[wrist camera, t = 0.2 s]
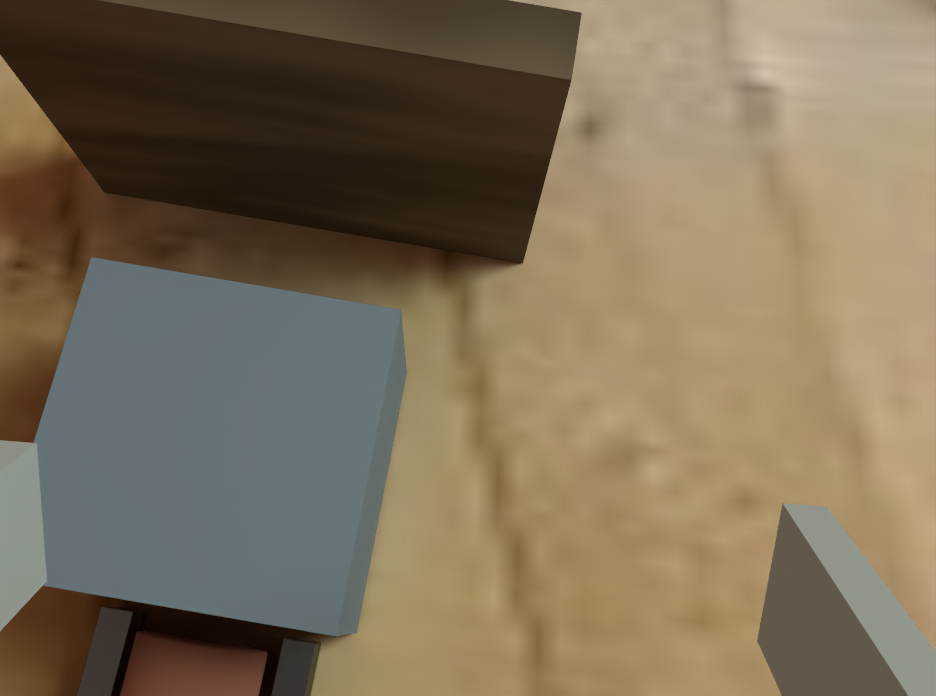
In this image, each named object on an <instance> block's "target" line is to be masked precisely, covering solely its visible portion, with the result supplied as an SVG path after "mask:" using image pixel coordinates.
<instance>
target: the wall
mask: <svg viewBox="0 0 936 696" xmlns="http://www.w3.org/2000/svg"><path fill="white" fill-rule="evenodd" d="M580 20H581V13H580V12H574V11H568V10H562V9H556V8H550V7H544V6H539V5H533V4H527V3H521V2H515V1H509V0H0V55H1V56H2V57H3V59H4V60H5V61H6V63H7V64H8V65H9V67H10V68H11V69H12V71H13V72H14V73H15V75H16V76H17V77H18V79H19V80H20V81H21V82H22V84H23V85H24V86H25V88H26V89H27V90H28V92H29V93H30V94H31V96H32V97H33V98H34V100H35V101H36V102H37V104H38V105H39V106H40V108H41V109H42V110H43V111H44V113H45V114H46V115H47V117H48V118H49V119H50V121H51V122H52V123H53V125H54V126H55V127H56V129H57V130H58V131H59V133H60V134H61V135H62V137H63V138H64V139H65V141H66V142H67V143H68V144H69V146H70V147H71V148H72V150H73V151H74V152H75V154H76V155H77V156H78V158H79V159H80V160H81V162H82V163H83V164H84V166H85V167H86V168H87V170H88V171H89V172H90V174H91V175H92V176H93V177H94V179H95V180H96V181H97V183H98V184H99V185H100V187H101V188H102V189H103V191H104V192H107V193H113V194H119V195H124V196H130V197H136V198H142V199H148V200H154V201H160V202H166V203H172V204H178V205H183V206H189V207H195V208H201V209H207V210H213V211H219V212H225V213H231V214H236V215H242V216H248V217H254V218H260V219H266V220H272V221H278V222H284V223H289V224H295V225H301V226H307V227H313V228H319V229H325V230H331V231H337V232H342V233H348V234H354V235H360V236H366V237H372V238H378V239H384V240H390V241H395V242H401V243H407V244H413V245H419V246H425V247H431V248H437V249H443V250H448V251H454V252H460V253H466V254H472V255H478V256H484V257H490V258H496V259H501V260H507V261H513V262H519V263H523V260H524V257H525V253H526V249H527V245H528V242H529V238H530V234H531V230H532V226H533V223H534V219H535V215H536V211H537V208H538V204H539V200H540V196H541V193H542V189H543V185H544V181H545V177H546V174H547V170H548V166H549V162H550V159H551V155H552V151H553V147H554V144H555V140H556V136H557V132H558V128H559V125H560V121H561V117H562V113H563V110H564V106H565V102H566V98H567V95H568V91H569V87H570V83H571V79H572V73H573V66H574V59H575V53H576V46H577V40H578V33H579V26H580Z"/></svg>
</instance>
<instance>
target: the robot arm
mask: <svg viewBox="0 0 936 696" xmlns="http://www.w3.org/2000/svg"><path fill="white" fill-rule="evenodd" d="M46 581H47V573H46V560H45V546H44V533H43V520H42V506H41V493H40V479H39V466H38V452H37V443H28V442H16V441H3V440H0V631H1V630H2V629H3V628H4V627H5V626H6V625H7V624H8V622H9V621H10V620H11V619H12V618H13V617H14V616H15V615H16V614H17V613H18V612H19V611H20V609H21V608H22V607H23V606H24V605H25V604H26V603H27V602H28V601H29V600H30V599H31V598H32V597H33V595H34V594H35V593H36V592H37V591H38V590H39V589H40V588H41V587H42V586H43V585H44V584H45V583H46ZM757 641H758V643H759V645H760V648H761V650H762V652H763V654H764V657H765V659H766V661H767V663H768V666H769V668H770V670H771V672H772V674H773V677H774V679H775V681H776V683H777V686H778V688H779V690H780V692H781V695H782V696H936V651H935V650H934V648H933V647H932V646H931V644H930V643H929V642H928V640H927V639H926V638H925V636H924V635H923V634H922V632H921V631H920V630H919V628H918V627H917V626H916V625H915V623H914V622H913V621H912V619H911V618H910V617H909V615H908V614H907V613H906V611H905V610H904V609H903V607H902V606H901V605H900V603H899V602H898V601H897V599H896V598H895V597H894V595H893V594H892V593H891V591H890V590H889V589H888V587H887V586H886V585H885V583H884V582H883V581H882V579H881V578H880V577H879V575H878V574H877V573H876V571H875V570H874V569H873V567H872V566H871V565H870V563H869V562H868V561H867V559H866V558H865V557H864V555H863V554H862V553H861V551H860V550H859V549H858V547H857V546H856V545H855V543H854V542H853V541H852V539H851V538H850V537H849V535H848V534H847V533H846V531H845V530H844V529H843V527H842V526H841V525H840V523H839V522H838V521H837V519H836V518H835V517H834V515H833V514H832V513H831V512H830V510H829V509H828V508H827V507H822V506H810V505H797V504H785V503H783V504H782V510H781V515H780V520H779V526H778V531H777V537H776V542H775V548H774V553H773V558H772V564H771V569H770V575H769V580H768V585H767V591H766V596H765V602H764V607H763V613H762V618H761V623H760V629H759V634H758V640H757Z"/></svg>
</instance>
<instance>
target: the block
mask: <svg viewBox="0 0 936 696" xmlns="http://www.w3.org/2000/svg"><path fill="white" fill-rule="evenodd" d="M406 373H407V371H406V359H405V348H404V336H403V325H402V314H401V310H399V309H393V308H387V307H381V306H376V305H370V304H364V303H358V302H352V301H346V300H340V299H334V298H329V297H323V296H317V295H311V294H305V293H299V292H293V291H288V290H282V289H276V288H270V287H264V286H258V285H252V284H246V283H241V282H235V281H229V280H223V279H217V278H211V277H205V276H199V275H194V274H188V273H182V272H176V271H170V270H164V269H158V268H152V267H147V266H141V265H135V264H129V263H123V262H117V261H111V260H106V259H100V258H94V257H91V260H90V263H89V267H88V270H87V273H86V276H85V279H84V283H83V286H82V289H81V292H80V295H79V299H78V302H77V305H76V308H75V311H74V315H73V318H72V321H71V324H70V327H69V331H68V334H67V337H66V340H65V343H64V347H63V350H62V353H61V356H60V359H59V363H58V366H57V369H56V372H55V375H54V379H53V382H52V385H51V388H50V391H49V395H48V398H47V401H46V404H45V407H44V411H43V414H42V417H41V420H40V423H39V427H38V430H37V433H36V436H35V439H34V443H37V452H38V466H39V479H40V493H41V506H42V520H43V533H44V546H45V560H46V573H47V581H46V583H45V584H44V585H43V586H48V587H54V588H59V589H65V590H71V591H77V592H83V593H88V594H94V595H100V596H106V597H111V598H117V599H123V600H129V601H135V602H140V603H146V604H152V605H158V606H163V607H169V608H175V609H181V610H187V611H192V612H198V613H204V614H210V615H215V616H221V617H227V618H233V619H239V620H244V621H250V622H256V623H262V624H267V625H273V626H279V627H285V628H291V629H296V630H302V631H308V632H314V633H319V634H325V635H331V636H341V635H347V634H352V633H357V628H358V623H359V618H360V612H361V607H362V602H363V597H364V592H365V586H366V581H367V576H368V571H369V566H370V560H371V555H372V550H373V545H374V540H375V534H376V529H377V524H378V519H379V514H380V508H381V503H382V498H383V493H384V488H385V482H386V477H387V472H388V467H389V462H390V456H391V451H392V446H393V441H394V436H395V430H396V425H397V420H398V415H399V410H400V404H401V399H402V394H403V389H404V384H405V378H406Z"/></svg>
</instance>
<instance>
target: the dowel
mask: <svg viewBox="0 0 936 696" xmlns="http://www.w3.org/2000/svg"><path fill="white" fill-rule="evenodd" d="M267 655H268V652H266V651H264V650H260V649H256V648H252V647H248V646H243V645H238V644H232V643H227V642H221V641H215V640H209V639H203V638H198V637H192V636H185V635H177V634H169V633H160V632H149V631H137V632H136V636H135V640H134V644H133V648H132V651H131V655H130V659H129V663H128V667H127V671H126V674H125V678H124V682H123V686H122V690H121V693H120V696H259V692H260V687H261V683H262V678H263V673H264V669H265V664H266V660H267Z"/></svg>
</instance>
